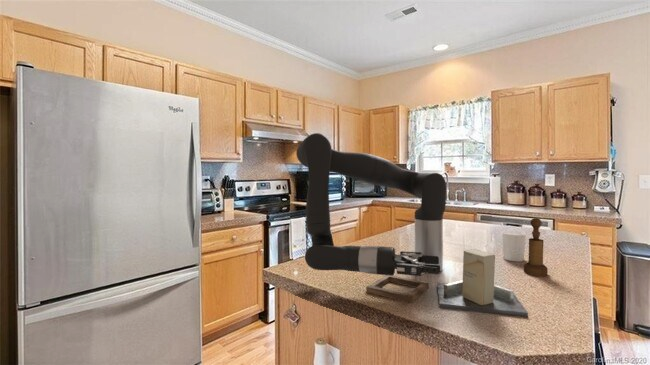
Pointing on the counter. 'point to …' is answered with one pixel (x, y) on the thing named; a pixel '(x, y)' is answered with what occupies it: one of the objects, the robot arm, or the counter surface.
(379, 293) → the square wooden frame
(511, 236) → the white cup
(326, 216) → the robot arm
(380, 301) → the counter surface
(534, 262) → the mortar and pestle
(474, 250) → the skincare box
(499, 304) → the grey corner stand
